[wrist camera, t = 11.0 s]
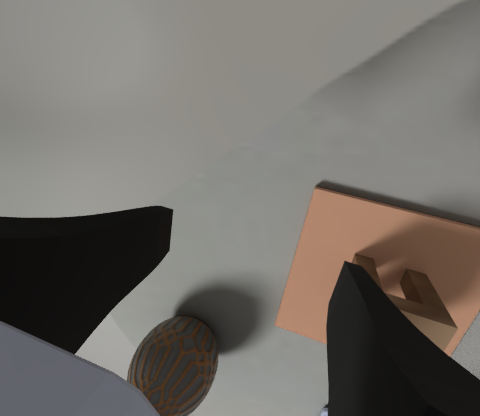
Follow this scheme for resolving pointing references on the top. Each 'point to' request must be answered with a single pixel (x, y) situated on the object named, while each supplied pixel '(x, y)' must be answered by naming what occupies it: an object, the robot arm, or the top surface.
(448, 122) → the top surface
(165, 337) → the vase
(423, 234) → the mat
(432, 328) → the notched brown block
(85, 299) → the robot arm
